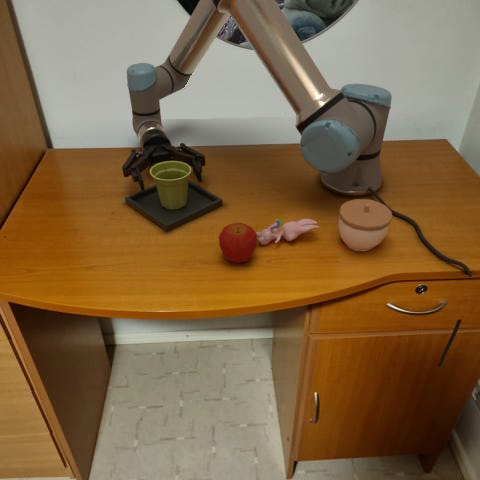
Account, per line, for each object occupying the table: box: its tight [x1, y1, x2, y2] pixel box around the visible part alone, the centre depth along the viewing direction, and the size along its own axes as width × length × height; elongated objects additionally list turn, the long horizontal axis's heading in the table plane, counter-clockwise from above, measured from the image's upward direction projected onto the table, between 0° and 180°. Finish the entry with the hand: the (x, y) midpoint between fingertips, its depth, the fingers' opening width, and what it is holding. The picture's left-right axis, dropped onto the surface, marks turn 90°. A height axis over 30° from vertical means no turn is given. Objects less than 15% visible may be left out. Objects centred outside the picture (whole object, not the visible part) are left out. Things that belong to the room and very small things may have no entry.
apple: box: [218, 222, 258, 264], centre depth 98 cm, size 8×8×8 cm
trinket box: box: [337, 198, 393, 252], centre depth 101 cm, size 11×11×9 cm
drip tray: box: [124, 179, 224, 233], centre depth 115 cm, size 17×17×2 cm
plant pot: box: [149, 161, 192, 210], centre depth 113 cm, size 9×9×9 cm
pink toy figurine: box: [255, 218, 321, 246], centre depth 104 cm, size 6×6×15 cm
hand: (171, 181), depth 111 cm, fingers open, 13 cm apart
